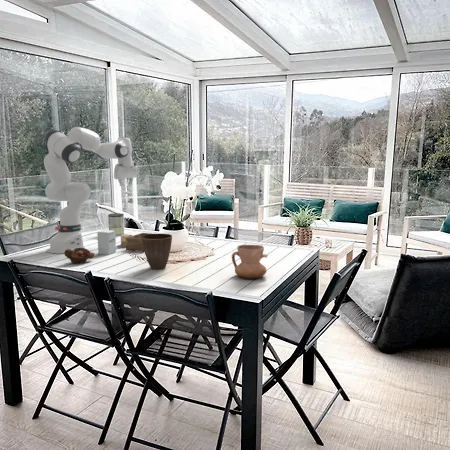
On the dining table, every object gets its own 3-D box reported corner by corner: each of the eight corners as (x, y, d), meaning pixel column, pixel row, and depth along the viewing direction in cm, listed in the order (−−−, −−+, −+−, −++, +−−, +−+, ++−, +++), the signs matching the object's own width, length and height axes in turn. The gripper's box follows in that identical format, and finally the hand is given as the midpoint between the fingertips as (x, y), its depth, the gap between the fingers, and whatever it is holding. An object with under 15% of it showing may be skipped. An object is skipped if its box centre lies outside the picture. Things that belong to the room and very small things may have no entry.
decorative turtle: (61, 263, 233) (61, 247, 233) (89, 260, 243) (89, 245, 242) (68, 266, 226) (68, 250, 225) (97, 263, 236) (97, 247, 235)
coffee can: (106, 234, 311) (105, 214, 308) (120, 232, 317) (119, 212, 315) (113, 236, 303) (112, 215, 301) (127, 234, 309) (126, 214, 307)
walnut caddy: (146, 251, 259) (146, 239, 257) (125, 249, 264) (125, 237, 263) (162, 245, 275) (162, 234, 274) (142, 243, 280) (142, 232, 279)
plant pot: (144, 272, 215) (143, 239, 212) (140, 265, 229) (139, 234, 226) (175, 270, 219) (174, 238, 216) (170, 263, 233) (169, 232, 231)
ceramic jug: (273, 275, 211) (273, 245, 209) (260, 282, 198) (260, 251, 196) (239, 270, 220) (239, 242, 218) (224, 277, 207) (224, 247, 205)
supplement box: (109, 255, 251) (108, 232, 249) (97, 254, 254) (96, 231, 251) (116, 252, 258) (115, 230, 256) (105, 251, 260) (104, 229, 258)
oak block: (128, 246, 271) (127, 236, 270) (121, 245, 273) (120, 235, 272) (132, 244, 275) (132, 234, 274) (125, 243, 277) (125, 234, 276)
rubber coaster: (128, 248, 268) (128, 247, 268) (116, 246, 272) (116, 245, 272) (137, 245, 277) (137, 244, 276) (125, 243, 280) (125, 242, 280)
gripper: (119, 164, 272) (120, 187, 275) (138, 163, 291) (139, 184, 293) (110, 164, 275) (111, 186, 277) (130, 162, 293) (130, 184, 296)
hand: (126, 185), depth 285 cm, fingers open, 8 cm apart
